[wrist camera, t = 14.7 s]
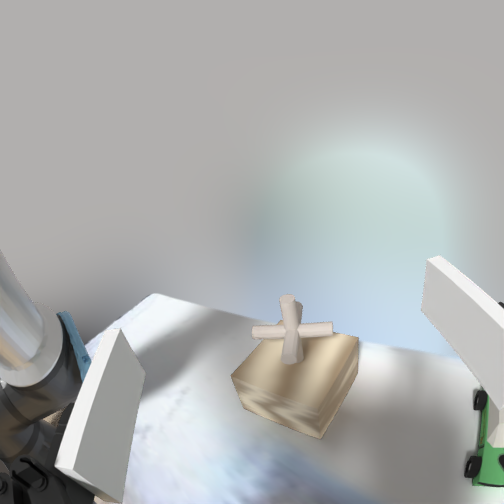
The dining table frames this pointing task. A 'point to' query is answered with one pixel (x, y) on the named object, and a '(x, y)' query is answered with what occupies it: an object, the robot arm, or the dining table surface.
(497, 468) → the toy car
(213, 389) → the dining table surface
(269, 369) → the birch block
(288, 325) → the pipe connector
